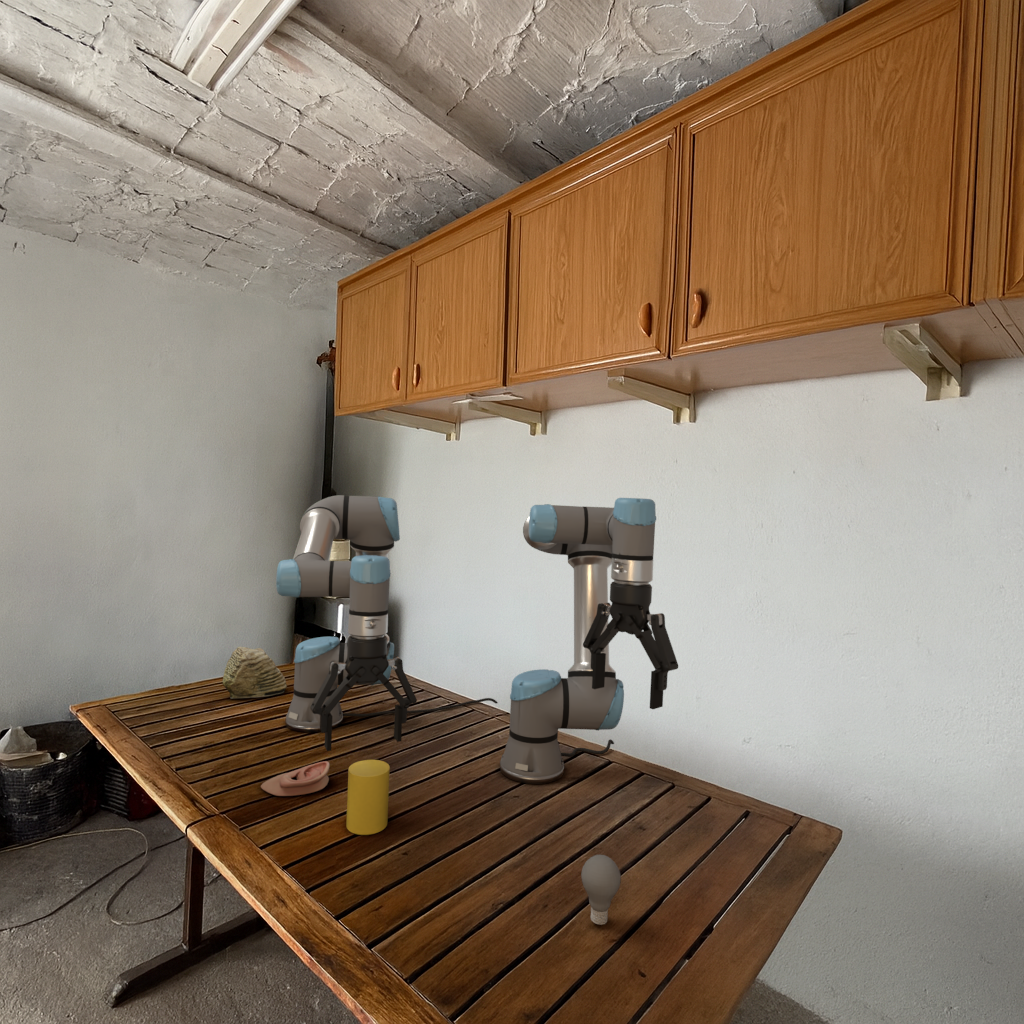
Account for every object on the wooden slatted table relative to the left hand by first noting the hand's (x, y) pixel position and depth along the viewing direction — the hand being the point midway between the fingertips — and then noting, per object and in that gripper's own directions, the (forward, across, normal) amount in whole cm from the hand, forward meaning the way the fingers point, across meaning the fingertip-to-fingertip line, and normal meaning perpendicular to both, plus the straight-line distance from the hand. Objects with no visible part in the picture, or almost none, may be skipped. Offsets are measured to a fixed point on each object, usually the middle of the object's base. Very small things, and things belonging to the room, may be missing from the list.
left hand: (363, 743), depth 124 cm
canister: (+16, +1, -1) cm, 16 cm away
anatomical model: (+15, -9, +21) cm, 28 cm away
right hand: (-13, +41, -28) cm, 52 cm away
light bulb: (+16, +27, -43) cm, 53 cm away
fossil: (+15, -13, +89) cm, 91 cm away
